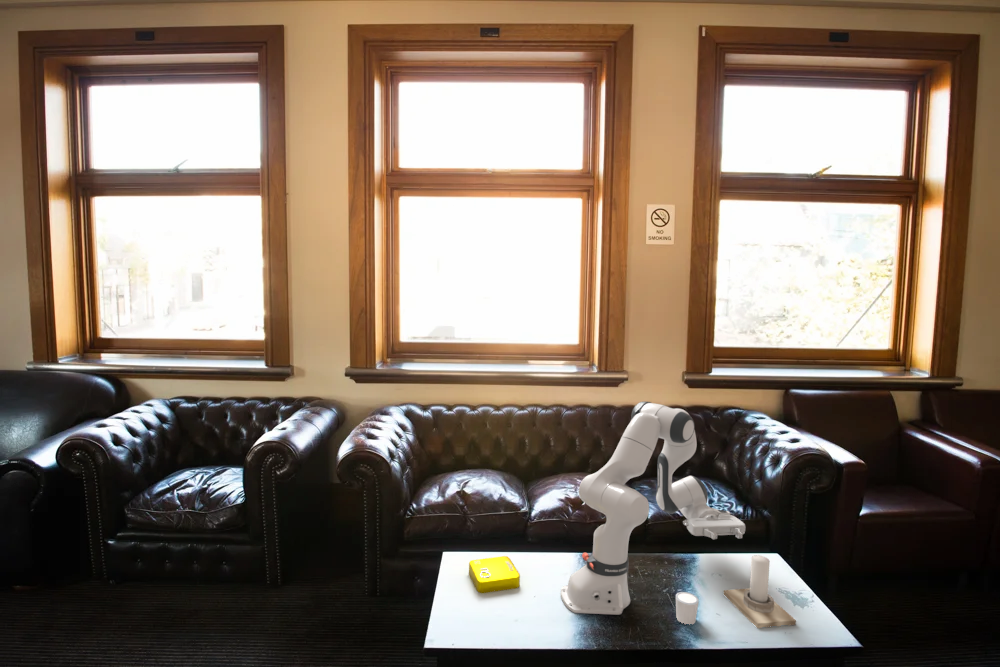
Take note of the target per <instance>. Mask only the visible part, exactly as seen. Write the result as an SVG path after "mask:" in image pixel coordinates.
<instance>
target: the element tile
mask: <svg viewBox="0 0 1000 667" xmlns="http://www.w3.org/2000/svg"><path fill="white" fill-rule="evenodd" d="M468 575H469V577H470V579H471V581H472V584H473V586H474V588H475V590H476V592H478V593H479V594H488V593H494V592H500V591H501V592H502V591H509V590H516V589H519V588H520V585H521V583H520V582H521V575H520V572H519V571H518V569H517V568H516V566H515V564H514V563H513V561H512V559H511V558H510V557H508V556H507V555H503V556H495V557H488V558H487V557H486V558H479V559H478V558H477V559H472V560H470V561H469V563H468Z"/></svg>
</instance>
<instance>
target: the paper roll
mask: <svg viewBox="0 0 1000 667" xmlns="http://www.w3.org/2000/svg"><path fill="white" fill-rule="evenodd" d="M750 559H751V560H750V581H749V582H750V583H749V588H750V596H749V598H750V599H751V600H753V601H755V602H758V603H767V599H768V594H769V577H770V559H769V558H767V557H765V556H763V555H759V554H758V555H752V556H751V558H750Z"/></svg>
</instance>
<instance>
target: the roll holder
mask: <svg viewBox="0 0 1000 667" xmlns="http://www.w3.org/2000/svg"><path fill="white" fill-rule="evenodd" d="M723 594H724V595H725V596H726V597H727V598H728V599H729V600H730V601H729V600H728V599H727V598H726V597H725V596H724V597H725V598H726V599H727V600H728V601H729V602H730V603H731V604H732V605H733V606H734V607H735V608H736V609H737V610H738V611H739V612H740V613H741V614H742V615H743V616H744V617H745V618H746V619H747V620H748V621H749V622H750V623H753V624H754V625H755V626H756V627H757V628H756V627H755V626H754V627H755V628H756V629H763V628H762V627H766V628H773V627H772V626H777V627H782V626H781V625H788V626H796V624H797V619H795V618H794V617H793V616H792V615H790V613H788V612H787V610H785V609H784V608H783V607H782V606H781V605H779V604H778V603H777V602H776V601H775V599H774V597H773V596H771V595H770V593H768V599H767V603H758V602H755V601H753V600H751V599H750V598H749V596H750V587H748V588H737V589H736V588H734V589H724V590H723ZM753 624H752V625H753ZM770 626H771V627H770Z"/></svg>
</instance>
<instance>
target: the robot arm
mask: <svg viewBox="0 0 1000 667" xmlns="http://www.w3.org/2000/svg"><path fill="white" fill-rule="evenodd" d="M630 416H631V417H630V418H631V419H630V422H629V423H628V425H626V426H627V427H626V428H625V429H624V431H623V433H622V436H621V437H620V440H619V442H618V443H617V446H616V449H615V450H614V452H613V454H612V456H611V457H610V458H609V460H608V461H607V463H606V464H605V465H603V467H601V468H600V469H599V470H598V471H596V472H594V473H592V474H588V475H586V476H584V478H582V480H581V482H580V484H579V488H578V495H579V498H580V499H581V501H582V502H584V503H585V505H587V506H588V507H590V508H591V509H592V510H595V511H597V512H599V513H601V514H603V515H605V517H606V521H605V523H603V524H601V525H600V526H599V525H598V526H597V528H596V529H595V530H594V532H593V542H592V544H593V545H592V553H591V554H590V556H589V553H587V552H582V555H581V557H582V558H583V560H584V561H586V564H584V566H582V567H581V568H579V569H578V570H576V571H574V572H573V573H572V574H571V575H570V576H569V579H568V582H567V585H562V587H561V589H560V598H561V601H562V602H563V604H564V605H565V607H566V608H567V609H568V610H570V611H571V612H572V613H575V614H591V615H592V614H593V615H595V614H596V615H598V614H599V615H615V616H616V615H622V613H623V612H624V609H626V608H627V607H629V605H630V604H631V597H630V593H629V586H628V574H629V566H630V565H629V557H628V551H629V541H630V536H631V533H632V531H633V530H634V529H635V528H636V527H638V526H640V525H642V524H643V523H644V522H646V520H647V518H648V516H649V513H650V504H649V500H648V499H647V497H645V495H643V494H642V493H640V492H639V491H638V490H636V489H634V488H633V487H632V488H631V487H629V486H627V485H626V483H627V482H628V481H629V480H630V479H633V478H636V477H639V476H641V475H643V474H644V473H645V471H646V469H647V466H648V465H649V462H650V459H651V457H652V456H653V453H654V451H655V448H656V446H657V443H658V440H659V439H662V440H664V441H663V442H664V443H663V446H662V450H661V452H660V454H659V455H658V457H657V478H656V479H657V483H656V484H657V485H656V492H655V500H656V503H657V505H658V508H659V509H660V510H661V511H662V512H665V513H666V514H671V515H673V514H675V513H677V512H678V511H680V513H681V514H682V515H683V516H684V517H685V518H686V519H684V520H683V521H682V524H683V525H684V526H686V529H687V530H688V532H689V533H690V534H691V536H692V535H693V536H695V537H703V536H704V537H708V538H711V539H712V540H717V539H718V536H728V535H729V536H734V535H735V538H737V539H743V535H744V534H745V532H746V524H745V523H744V521H742V520H741V519H739V518H737V517H736V516H734V515H732V514H731V512H730V511H729V510H723V509H717V508H714V507H710V506H709V505H707V503H708V499H709V498H708V496H709V495H708V491H707V487H706V485H705V484H704V483H703V481H701V479H699V478H698V477H696V476H694V475H688V476H686V477H683V478H680V479H679V480H676V481H674V482H673V474H674V472H675V471H676V470H677V469H678V468H679V467H681V466H682V465H683V464H684V463H685V462H687V461H689V460H690V459H691V458H692V457H693V456H694V455H695V453H696V451H697V445H698V444H697V435H696V430H695V427H696V426H695V420H694V419H693V418H692V416H691V415H690V414H689V413H688V412H687V411H686V410H684V409H682V408H678V407H677V408H672V407H669V406H667V405H664V404H660V403H654V402H652V401H640V402H638V403H637V404H636V405H634V407H633V408H632V411H631V414H630Z"/></svg>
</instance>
